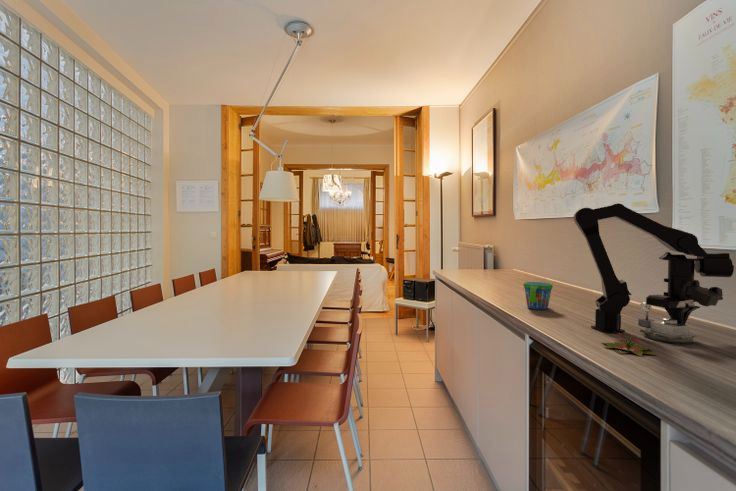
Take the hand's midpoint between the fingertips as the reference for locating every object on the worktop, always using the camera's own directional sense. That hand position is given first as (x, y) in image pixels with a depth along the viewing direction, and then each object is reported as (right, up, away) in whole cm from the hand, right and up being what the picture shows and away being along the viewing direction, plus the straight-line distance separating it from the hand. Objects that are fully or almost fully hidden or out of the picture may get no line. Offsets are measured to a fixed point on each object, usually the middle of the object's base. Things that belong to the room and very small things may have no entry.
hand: (679, 329), depth 101 cm
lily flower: (-23, -3, -10) cm, 25 cm away
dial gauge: (0, -2, +13) cm, 13 cm away
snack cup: (-22, -1, +39) cm, 45 cm away
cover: (-4, -1, -1) cm, 4 cm away
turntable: (-4, -2, -1) cm, 5 cm away
